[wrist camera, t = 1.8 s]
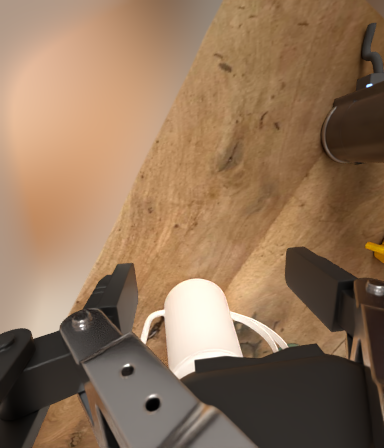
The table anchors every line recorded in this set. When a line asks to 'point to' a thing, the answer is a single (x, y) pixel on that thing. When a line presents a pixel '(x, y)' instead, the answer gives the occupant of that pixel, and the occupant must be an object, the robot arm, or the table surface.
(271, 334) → the coffeepot
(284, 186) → the table surface
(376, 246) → the figure statuette
